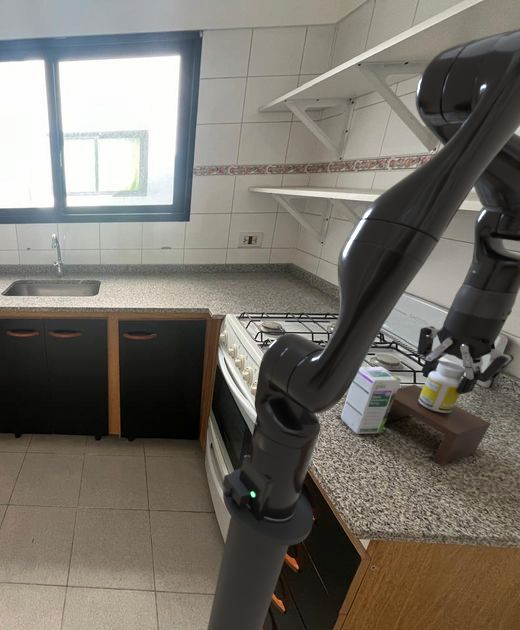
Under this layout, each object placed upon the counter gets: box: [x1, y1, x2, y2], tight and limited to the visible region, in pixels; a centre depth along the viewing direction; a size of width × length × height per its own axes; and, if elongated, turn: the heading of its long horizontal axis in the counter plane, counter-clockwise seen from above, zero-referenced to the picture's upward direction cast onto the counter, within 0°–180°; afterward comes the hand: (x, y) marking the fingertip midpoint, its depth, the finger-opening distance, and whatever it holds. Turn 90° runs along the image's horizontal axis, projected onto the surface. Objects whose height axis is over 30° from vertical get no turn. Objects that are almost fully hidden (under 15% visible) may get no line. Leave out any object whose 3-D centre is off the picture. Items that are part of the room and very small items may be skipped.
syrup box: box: [340, 365, 402, 435], centre depth 77 cm, size 6×6×14 cm
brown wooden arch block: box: [385, 384, 492, 466], centre depth 75 cm, size 10×14×8 cm
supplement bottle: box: [419, 360, 465, 413], centre depth 72 cm, size 5×5×10 cm
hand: (444, 384), depth 71 cm, fingers closed on supplement bottle, 5 cm apart
